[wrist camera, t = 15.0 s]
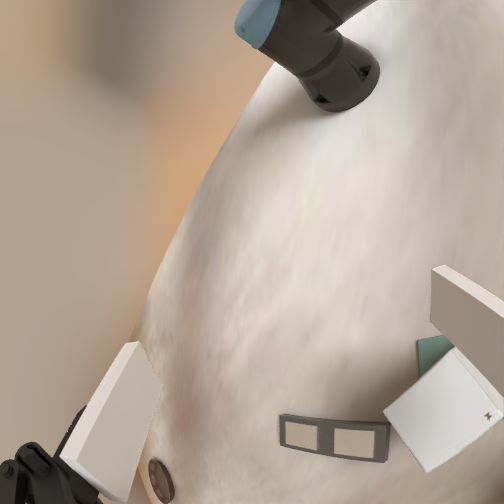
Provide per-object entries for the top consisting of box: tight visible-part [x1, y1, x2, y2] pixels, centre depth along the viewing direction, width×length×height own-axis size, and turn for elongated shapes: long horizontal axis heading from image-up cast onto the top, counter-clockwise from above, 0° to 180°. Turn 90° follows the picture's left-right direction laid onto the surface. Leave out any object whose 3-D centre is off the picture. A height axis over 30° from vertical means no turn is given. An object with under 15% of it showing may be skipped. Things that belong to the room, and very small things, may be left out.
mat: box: [418, 335, 504, 419], centre depth 21 cm, size 11×11×1 cm
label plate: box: [280, 414, 390, 463], centre depth 32 cm, size 6×18×2 cm, turn 92°
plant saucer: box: [148, 459, 174, 504], centre depth 65 cm, size 18×18×3 cm
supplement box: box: [383, 347, 504, 473], centre depth 17 cm, size 7×7×13 cm
